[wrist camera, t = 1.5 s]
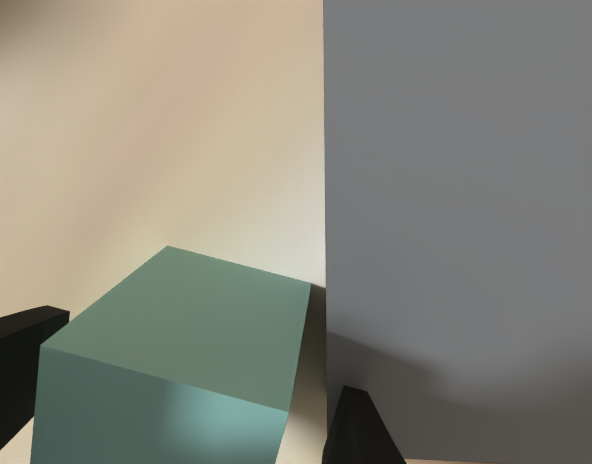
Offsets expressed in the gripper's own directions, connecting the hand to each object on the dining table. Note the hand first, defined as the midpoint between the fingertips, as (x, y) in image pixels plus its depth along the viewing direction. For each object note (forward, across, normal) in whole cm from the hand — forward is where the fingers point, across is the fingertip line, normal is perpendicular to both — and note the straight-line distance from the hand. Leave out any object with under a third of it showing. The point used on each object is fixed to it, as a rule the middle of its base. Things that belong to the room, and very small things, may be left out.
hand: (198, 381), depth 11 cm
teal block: (+3, 0, 0) cm, 3 cm away
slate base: (+3, -8, -6) cm, 10 cm away
